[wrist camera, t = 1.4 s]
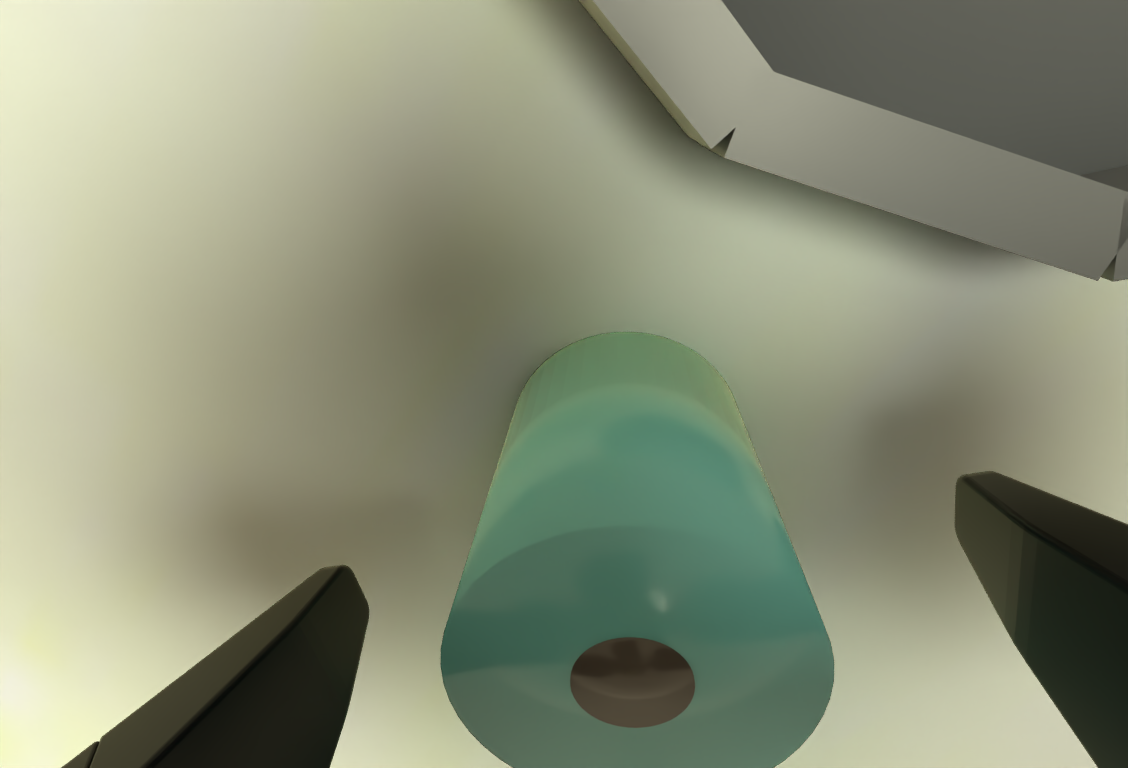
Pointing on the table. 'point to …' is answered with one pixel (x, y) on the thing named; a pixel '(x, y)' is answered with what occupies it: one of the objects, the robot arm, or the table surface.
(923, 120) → the tray
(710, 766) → the bead
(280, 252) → the table surface
